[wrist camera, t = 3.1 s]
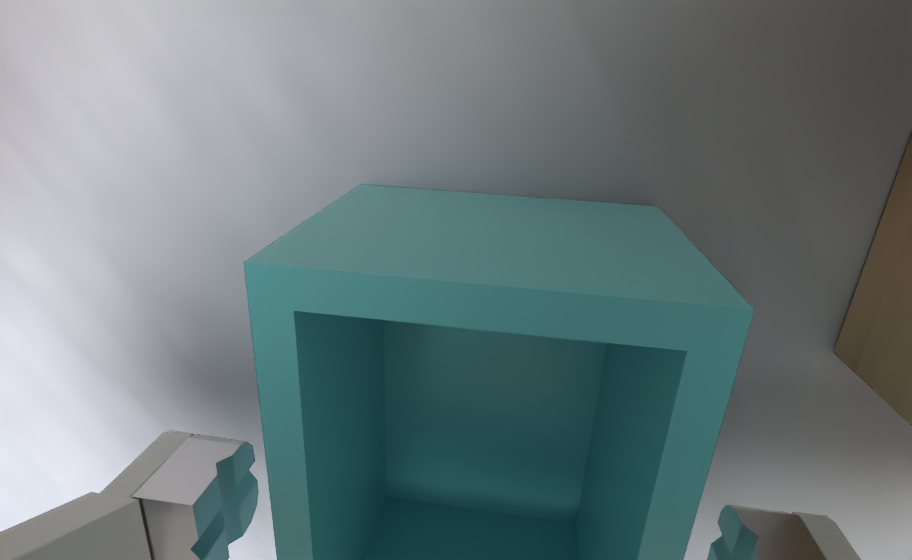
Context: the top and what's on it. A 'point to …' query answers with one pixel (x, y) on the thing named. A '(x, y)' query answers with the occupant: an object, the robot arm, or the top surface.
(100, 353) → the top surface
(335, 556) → the teal crate
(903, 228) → the walnut crate
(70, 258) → the top surface
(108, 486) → the robot arm
